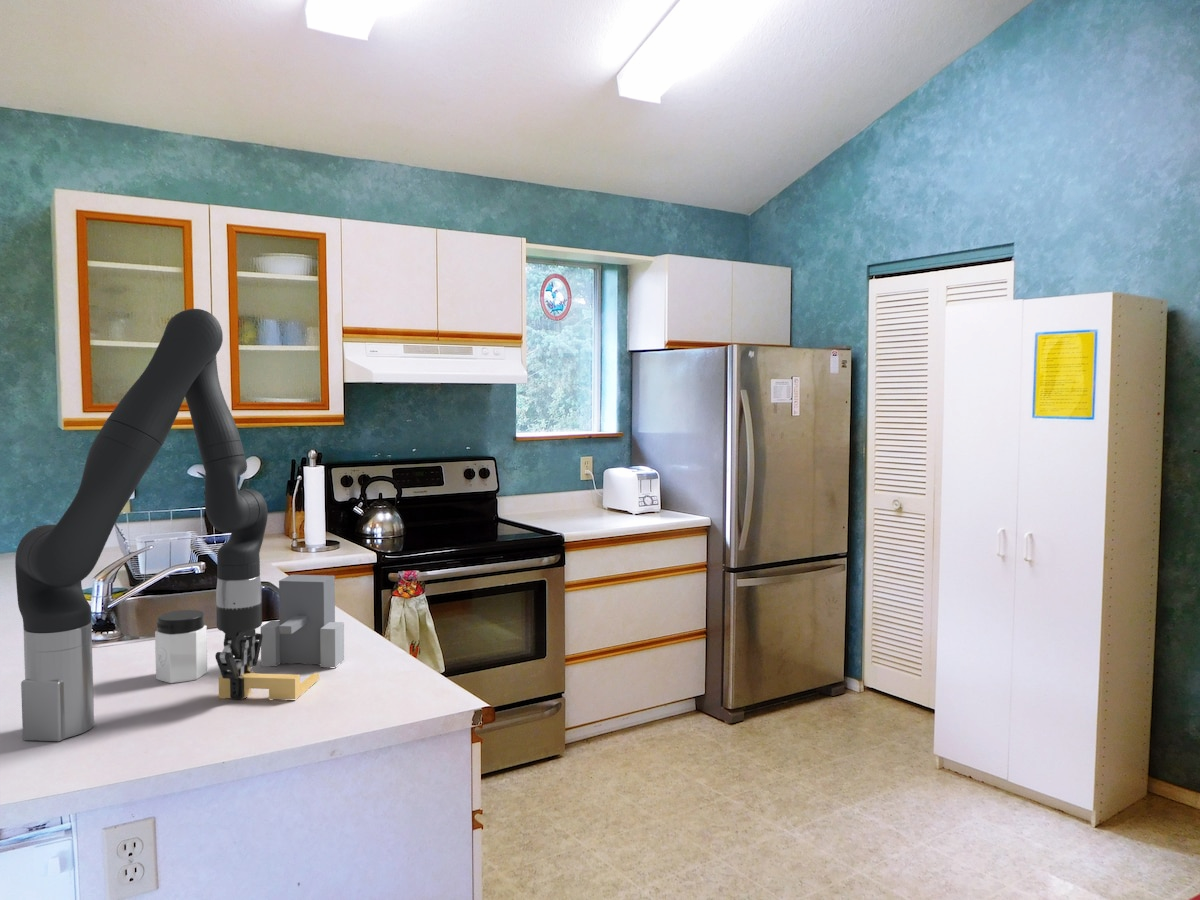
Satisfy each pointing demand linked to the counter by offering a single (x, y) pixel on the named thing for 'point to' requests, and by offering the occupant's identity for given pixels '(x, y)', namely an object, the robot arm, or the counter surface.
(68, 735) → the robot arm
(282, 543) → the counter surface
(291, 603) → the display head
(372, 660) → the counter surface
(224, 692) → the tan u-shaped bracket
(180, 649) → the jar
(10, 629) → the counter surface
